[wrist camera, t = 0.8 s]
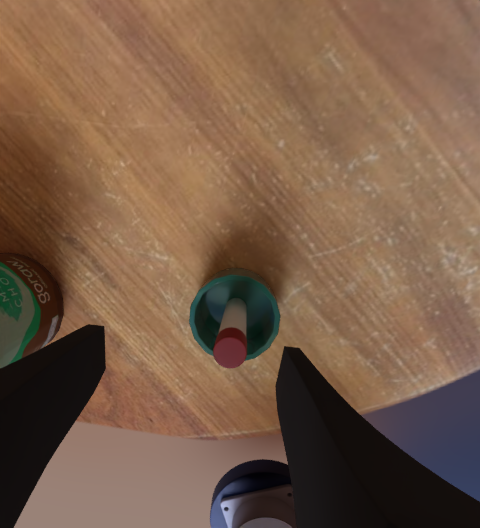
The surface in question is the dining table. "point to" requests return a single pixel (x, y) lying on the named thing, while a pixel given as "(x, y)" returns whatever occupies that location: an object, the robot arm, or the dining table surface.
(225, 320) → the marker
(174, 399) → the dining table surface
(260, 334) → the thermos cup
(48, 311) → the cake slice
